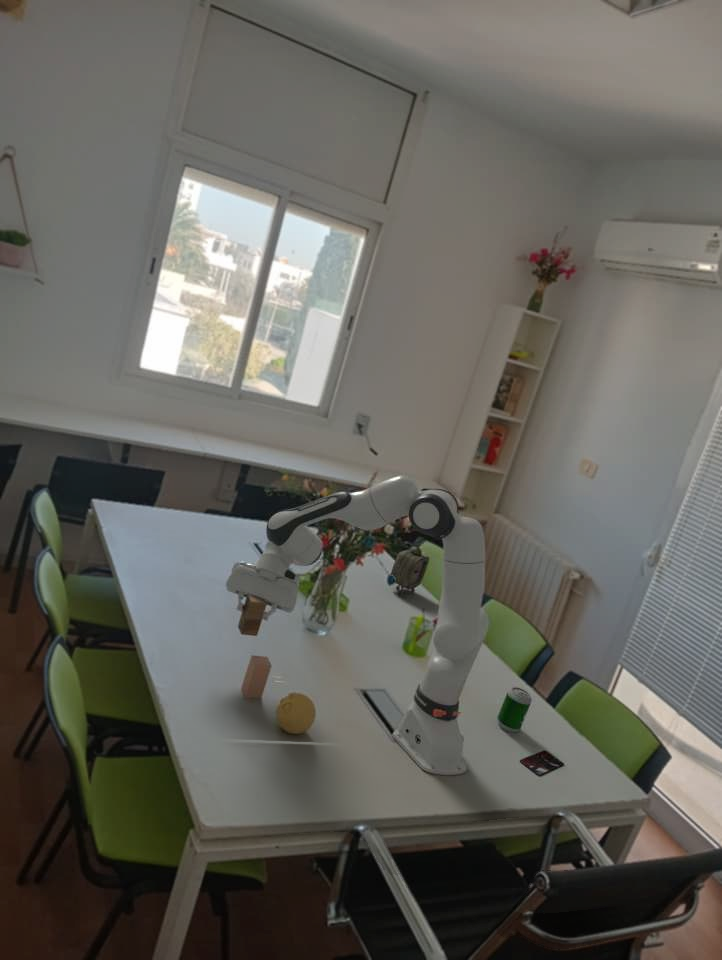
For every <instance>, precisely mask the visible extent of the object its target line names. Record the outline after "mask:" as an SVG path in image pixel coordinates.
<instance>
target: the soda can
mask: <svg viewBox="0 0 722 960" xmlns="http://www.w3.org/2000/svg"><path fill="white" fill-rule="evenodd" d="M532 701H533V700H532V697H531V694H530V693H529V692H528V691H527V690H525V689H523V688H521V687H517V686H513V687H511V688H509V689H508V690H507V693H506V695H505V697H504V699H503V703H502V705H501V708H500V709H499V713H498V715H497V718H496V721H497V722H498V723H497V724H498V725H499V727H500V728H501V729H503V730H504V731H507V732H508V733H509V732H510V733H516V732H519V731H520V730H521V728H522V725H523V723H524V721H525V718H526V716H527V714H528V711H529V709H530V705H531V703H532Z"/></svg>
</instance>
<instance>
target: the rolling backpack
mask: <svg viewBox="0 0 722 960" xmlns="http://www.w3.org/2000/svg"><path fill="white" fill-rule="evenodd" d="M419 540H421V543H417V542H418V541H419ZM423 543H424V537H418V538H417V539H416V540H415V543H414V546H412V547H411V548H409V549H406V550H403V551H400V552H398V553H397V556H396V557H395V560H394V562H393V565H392V569H391V572H390V575H393V576H394V577H395V578H396V582H395V584H397V586H396V587H395V589H396V590H400V592H399V597H403V596H404V593H403V592H404V589H406V590H409V591H410V592H412V593H415V588H417V587H419V586H420V585H421V583H422V582H423V581H422V580H423V579H424V577H425V574H426V571H427V568H428V565H429V561H430V557H429V556H427V555H425V554H423V553H422V549H421V548H420V547H421V546H422V545H423Z"/></svg>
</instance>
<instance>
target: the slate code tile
mask: <svg viewBox="0 0 722 960" xmlns="http://www.w3.org/2000/svg"><path fill="white" fill-rule="evenodd" d="M271 677H272V678H273V679H274V678H275V679H282V676H275V675H274V676H273V675H271ZM274 683H280V684H282V683H283V684H284V683H285V681H279V680H274Z"/></svg>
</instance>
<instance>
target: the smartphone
mask: <svg viewBox="0 0 722 960" xmlns="http://www.w3.org/2000/svg"><path fill="white" fill-rule="evenodd" d="M519 764H521V765H523V766H524V767H525V768H526V769H528V771H531V773H533V774H535V775H536V776H537V777H542V776H544V775H546V774H548V773H551V772H553V771H555V770H558V769H559V768H562V767H564V766H565V763H564V762H563V761H562V760H560V759H559V758H557V757H556V756H554V754H552V753H550V752H549V751H548V750H545V749H543V750H542V751H540V752H539V751H538V752H537V753H534V754H532V755H528V756H525V757H524V758H521V759H519Z"/></svg>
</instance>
